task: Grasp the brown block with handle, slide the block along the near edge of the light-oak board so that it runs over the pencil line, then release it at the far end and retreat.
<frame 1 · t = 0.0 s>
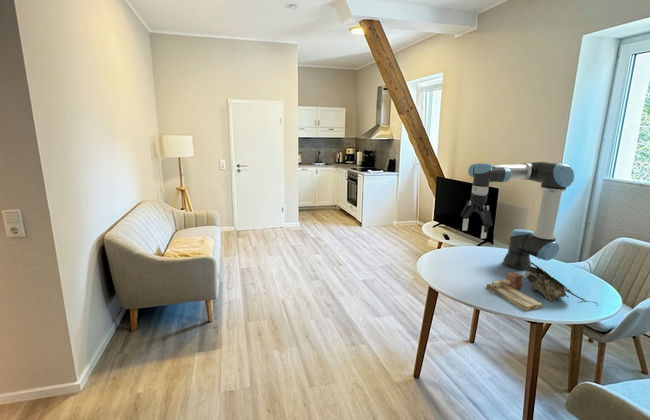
hand: (473, 234, 175), 28 cm above the table, fingers open, 13 cm apart
hacksaw: (571, 295, 174), on the table
board: (512, 297, 168), on the table
brown block with handle: (512, 288, 178), on the table
hollow geode rock: (543, 290, 177), on the table
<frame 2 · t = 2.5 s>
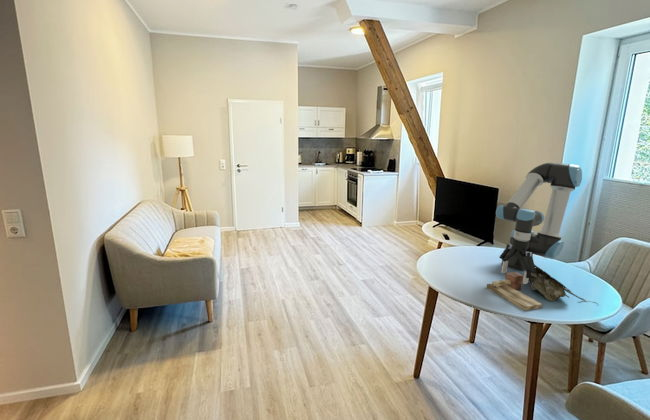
hand: (513, 277, 177), 6 cm above the table, fingers open, 13 cm apart
nothing on the table moved.
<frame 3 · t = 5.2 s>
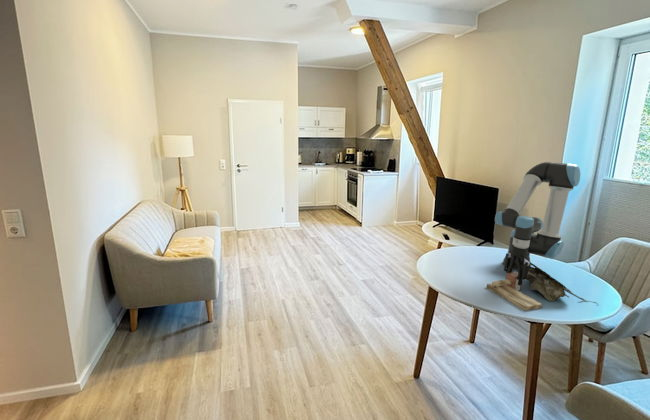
hand: (512, 287, 178), 0 cm above the table, fingers closed on brown block with handle, 5 cm apart
brown block with handle: (512, 288, 178), on the table, touching gripper
everything else where it was.
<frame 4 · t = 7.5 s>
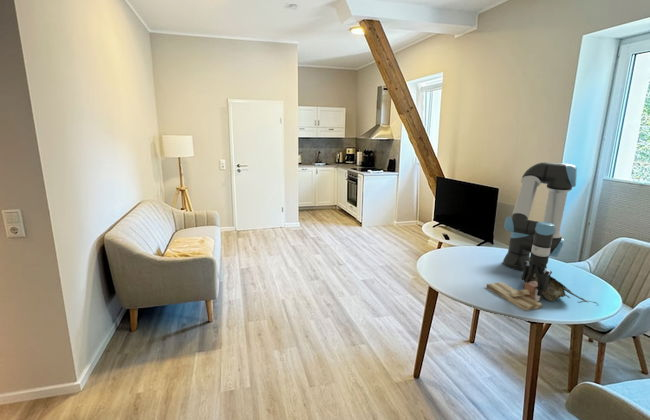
hand: (531, 298, 167), 0 cm above the table, fingers closed on brown block with handle, 5 cm apart
brown block with handle: (531, 298, 168), on the table, touching gripper
everything else where it was.
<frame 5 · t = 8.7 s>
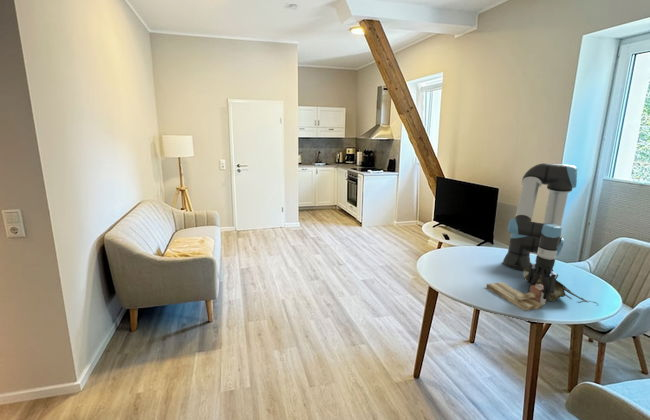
hand: (536, 301, 164), 0 cm above the table, fingers closed on brown block with handle, 5 cm apart
brown block with handle: (536, 301, 165), on the table, touching gripper
everything else where it was.
when the fingers open (0 cm above the table, at t = 9.8 s): brown block with handle stays where it is, on the table.
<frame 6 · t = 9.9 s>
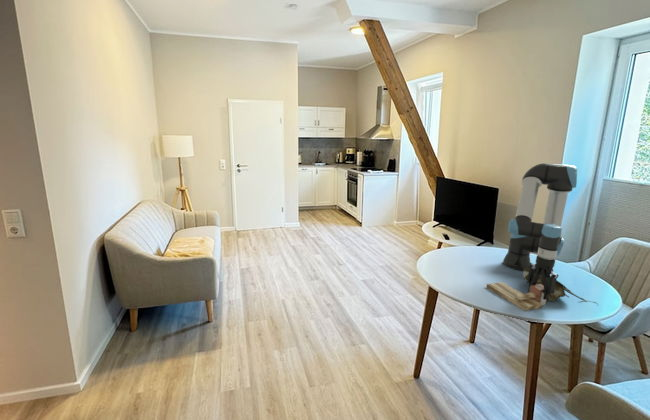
hand: (536, 301, 164), 0 cm above the table, fingers open, 5 cm apart
brown block with handle: (536, 301, 165), on the table
everything else where it was.
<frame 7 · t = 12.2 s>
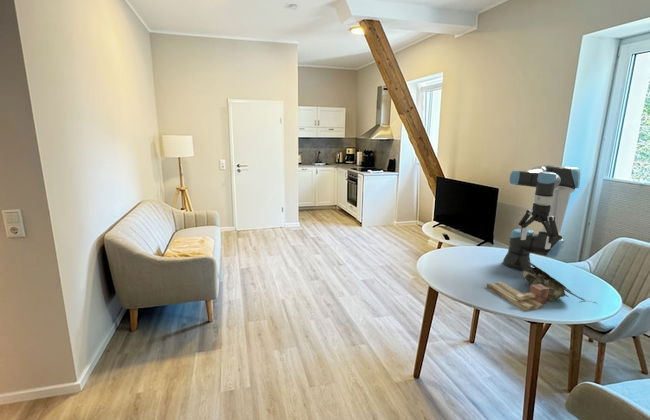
hand: (534, 244, 171), 25 cm above the table, fingers open, 13 cm apart
nothing on the table moved.
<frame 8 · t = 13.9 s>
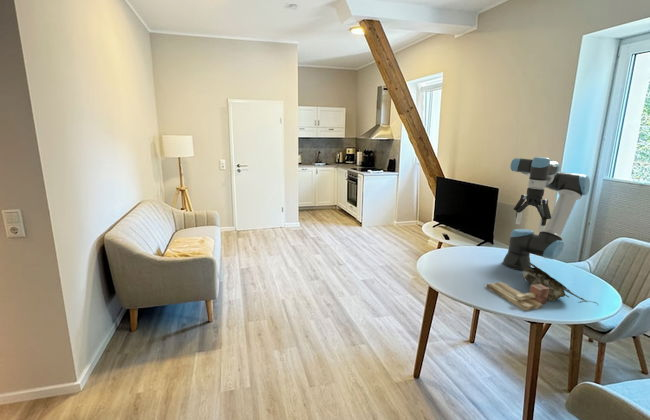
hand: (528, 227, 177), 32 cm above the table, fingers open, 13 cm apart
nothing on the table moved.
at the end: brown block with handle 0.3 cm from the target spot, on the table; brown block with handle tilted 0°; the gripper is holding nothing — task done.
